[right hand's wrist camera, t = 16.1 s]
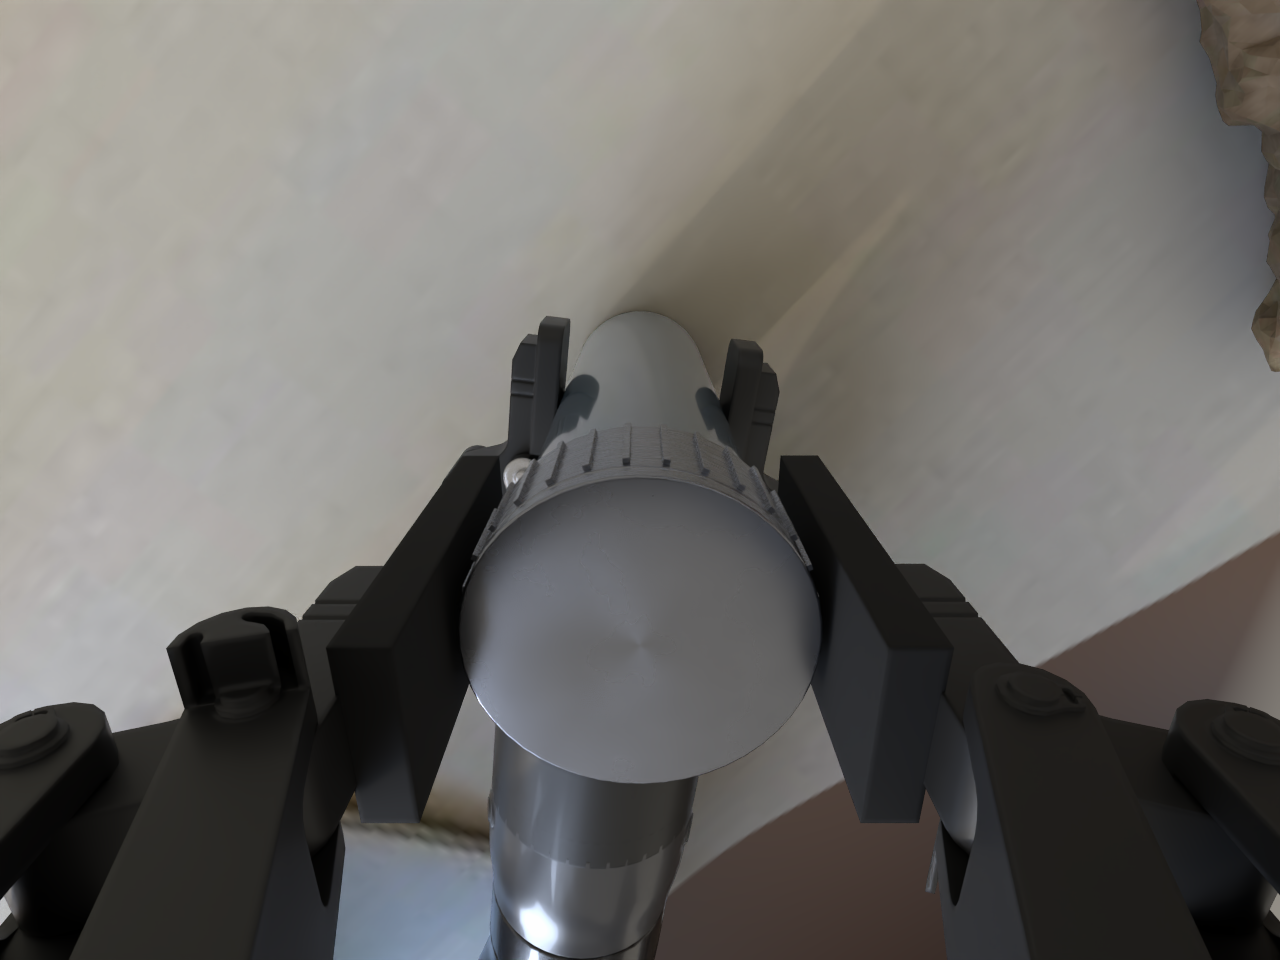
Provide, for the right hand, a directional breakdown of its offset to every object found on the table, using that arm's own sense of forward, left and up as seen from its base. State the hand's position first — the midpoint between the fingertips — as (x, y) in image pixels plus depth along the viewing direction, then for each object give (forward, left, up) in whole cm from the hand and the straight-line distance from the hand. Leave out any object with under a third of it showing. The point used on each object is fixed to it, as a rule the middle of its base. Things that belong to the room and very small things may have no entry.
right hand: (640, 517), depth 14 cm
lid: (0, 0, +4) cm, 4 cm away
